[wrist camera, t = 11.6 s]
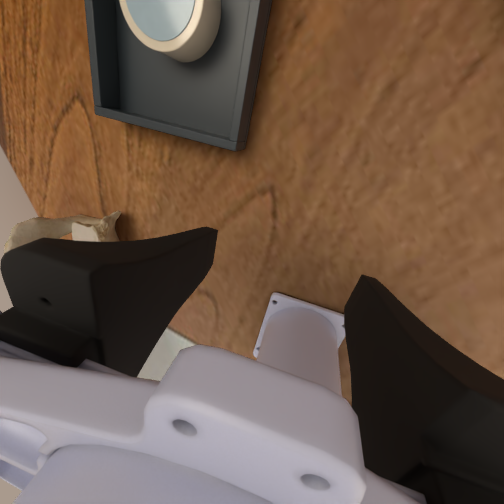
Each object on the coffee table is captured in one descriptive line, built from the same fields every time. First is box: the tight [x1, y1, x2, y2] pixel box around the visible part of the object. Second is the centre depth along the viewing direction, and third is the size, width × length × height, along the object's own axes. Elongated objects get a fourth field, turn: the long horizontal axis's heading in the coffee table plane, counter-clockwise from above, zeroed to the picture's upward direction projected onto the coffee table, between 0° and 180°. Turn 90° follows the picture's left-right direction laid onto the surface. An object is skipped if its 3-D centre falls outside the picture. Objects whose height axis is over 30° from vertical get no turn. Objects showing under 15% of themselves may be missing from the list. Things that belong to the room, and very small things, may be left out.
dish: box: [119, 0, 221, 62], centre depth 14 cm, size 5×5×3 cm
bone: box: [4, 210, 121, 254], centre depth 23 cm, size 9×6×10 cm
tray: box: [84, 0, 272, 151], centre depth 15 cm, size 14×11×2 cm
